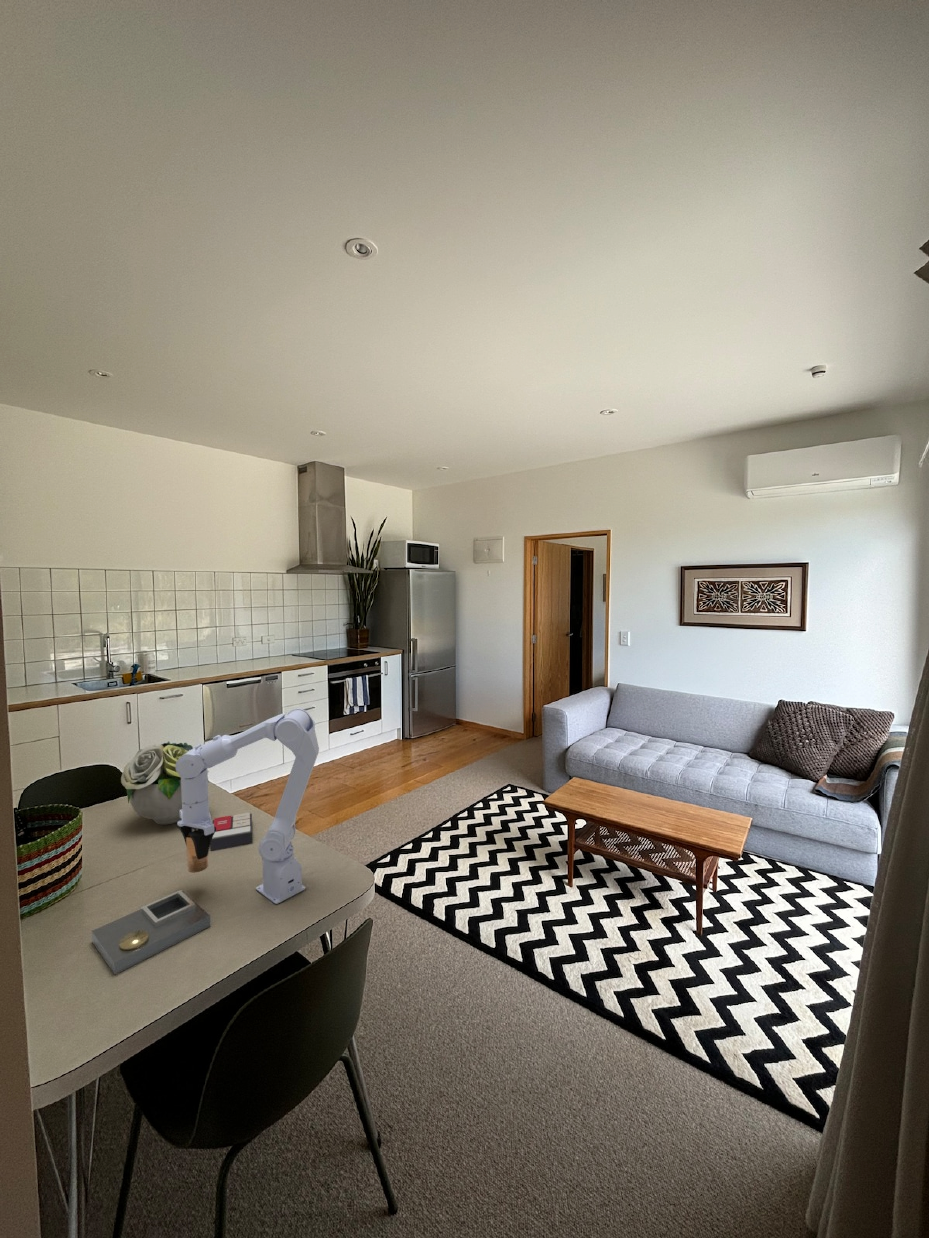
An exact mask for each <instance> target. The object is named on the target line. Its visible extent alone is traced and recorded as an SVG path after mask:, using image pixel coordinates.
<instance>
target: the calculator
mask: <svg viewBox="0 0 929 1238" xmlns="http://www.w3.org/2000/svg"><path fill="white" fill-rule="evenodd" d="M252 815H253V814H252V813H250V812H245V813H243V812H242V813H239V814H234V815H233V816H232V815H226V816H225V815H224V816H220V817H219V816H218V817H215V818H214V819H213V820H212V823H213V824H214V826H215V827H216V832H215V833H214V835H213V837H212V840H211V843H210V847H209V851H210V852H215V851H220V850H226V849H231V848H237V847H241V846H248V845H251V844H253V817H252Z"/></svg>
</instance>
